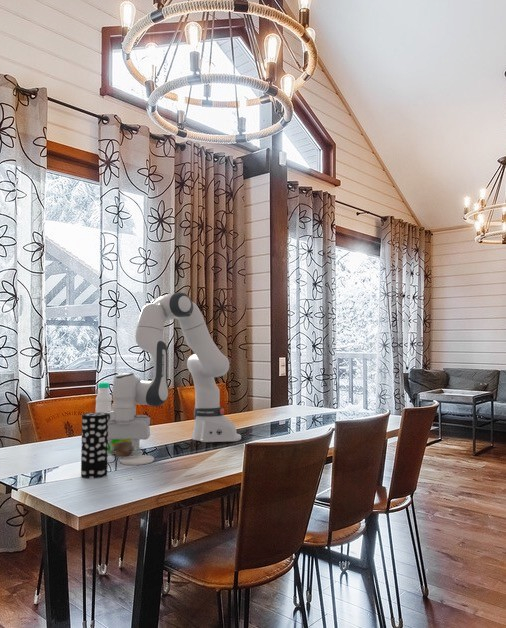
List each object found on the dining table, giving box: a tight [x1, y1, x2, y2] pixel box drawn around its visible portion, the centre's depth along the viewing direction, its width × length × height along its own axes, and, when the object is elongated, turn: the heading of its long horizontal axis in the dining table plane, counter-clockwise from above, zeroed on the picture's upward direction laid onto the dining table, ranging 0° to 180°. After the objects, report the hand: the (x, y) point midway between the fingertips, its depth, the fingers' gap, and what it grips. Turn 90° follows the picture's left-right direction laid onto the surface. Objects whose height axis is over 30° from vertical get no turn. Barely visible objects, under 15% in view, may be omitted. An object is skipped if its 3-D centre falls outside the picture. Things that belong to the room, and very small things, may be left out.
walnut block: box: [114, 441, 133, 458], centre depth 201 cm, size 5×5×5 cm
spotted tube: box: [80, 412, 109, 480], centre depth 172 cm, size 8×8×20 cm
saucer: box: [119, 454, 155, 466], centre depth 191 cm, size 12×12×1 cm
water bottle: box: [95, 382, 113, 413], centre depth 239 cm, size 7×7×25 cm
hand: (123, 450), depth 201 cm, fingers open, 7 cm apart
